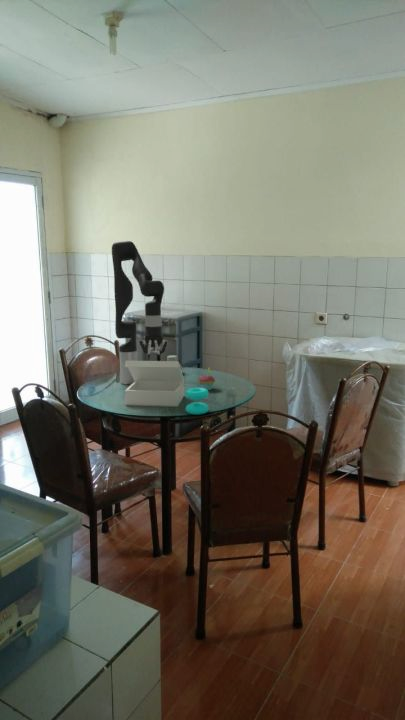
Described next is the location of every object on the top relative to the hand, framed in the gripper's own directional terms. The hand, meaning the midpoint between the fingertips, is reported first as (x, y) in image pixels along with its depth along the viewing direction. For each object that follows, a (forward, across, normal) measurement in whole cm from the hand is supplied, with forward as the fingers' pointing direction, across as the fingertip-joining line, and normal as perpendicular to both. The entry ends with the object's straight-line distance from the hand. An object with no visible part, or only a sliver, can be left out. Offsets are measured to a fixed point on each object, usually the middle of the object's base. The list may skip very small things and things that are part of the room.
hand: (154, 361), depth 237 cm
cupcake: (+18, -21, -22) cm, 36 cm away
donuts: (+19, -22, +16) cm, 33 cm away
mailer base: (+18, 0, +1) cm, 18 cm away
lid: (+7, 0, +1) cm, 7 cm away
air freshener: (+18, +3, -55) cm, 58 cm away
